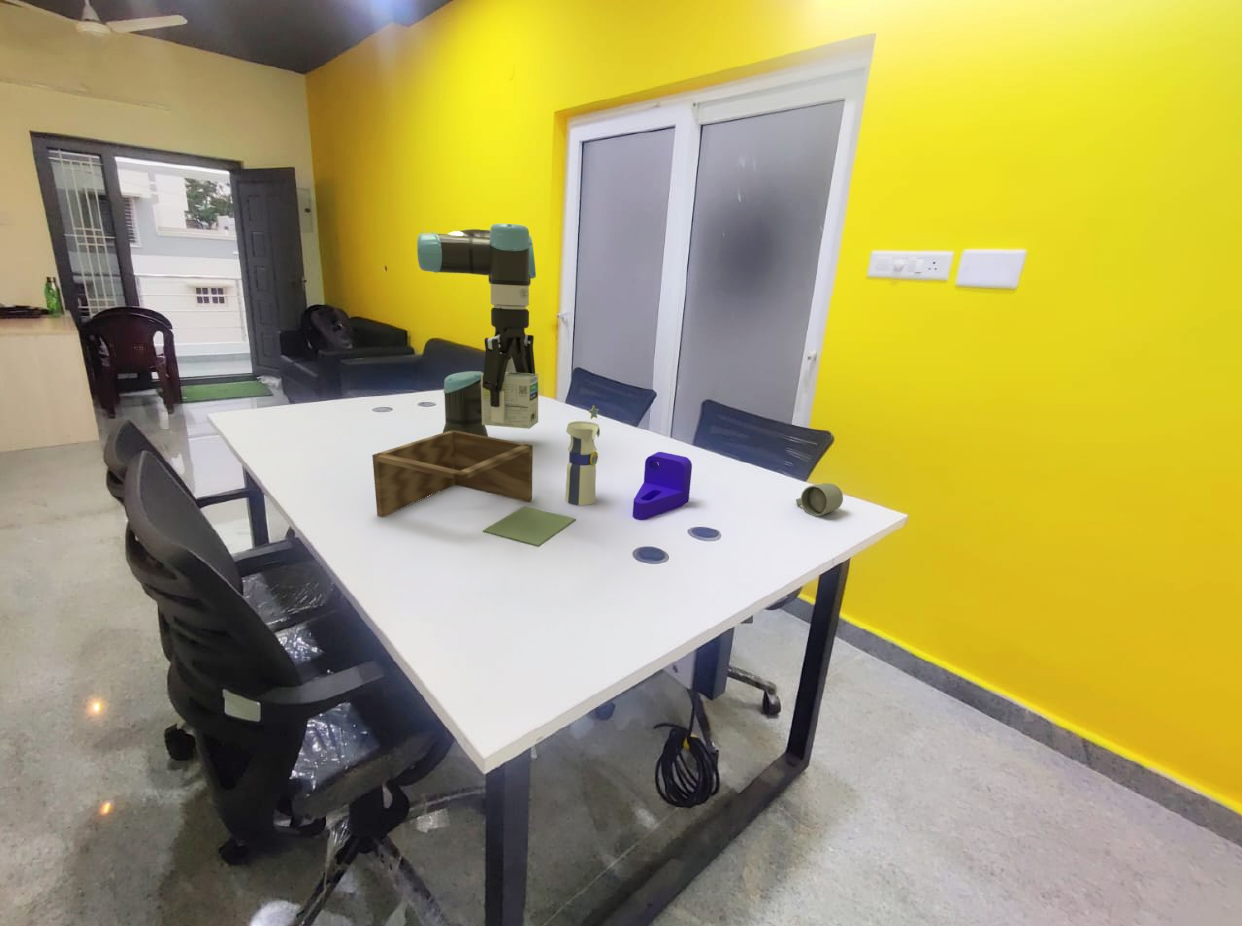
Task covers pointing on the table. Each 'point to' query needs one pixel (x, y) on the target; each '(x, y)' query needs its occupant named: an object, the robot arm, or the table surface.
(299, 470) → the table surface
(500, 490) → the open wooden box frame
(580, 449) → the belted robe figure
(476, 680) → the table surface
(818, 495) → the ceramic mug
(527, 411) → the light bulb box
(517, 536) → the mat
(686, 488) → the bracket
